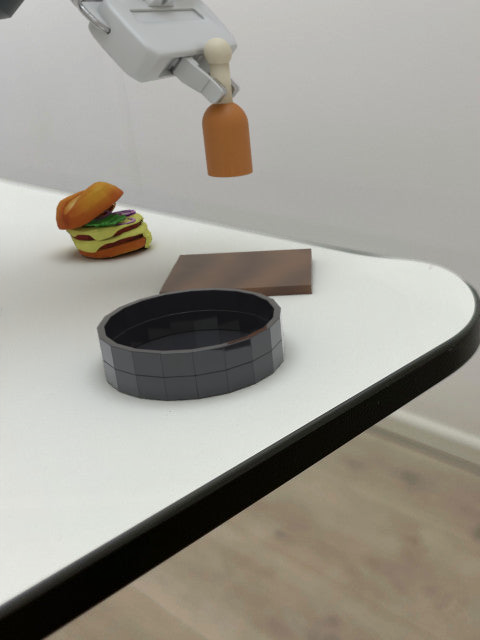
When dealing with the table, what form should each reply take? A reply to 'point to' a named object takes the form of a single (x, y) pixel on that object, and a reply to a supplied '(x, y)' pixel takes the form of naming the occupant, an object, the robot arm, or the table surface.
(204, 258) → the board
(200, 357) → the pan
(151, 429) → the table surface
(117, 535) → the table surface
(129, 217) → the cheeseburger
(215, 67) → the drumstick
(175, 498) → the table surface
